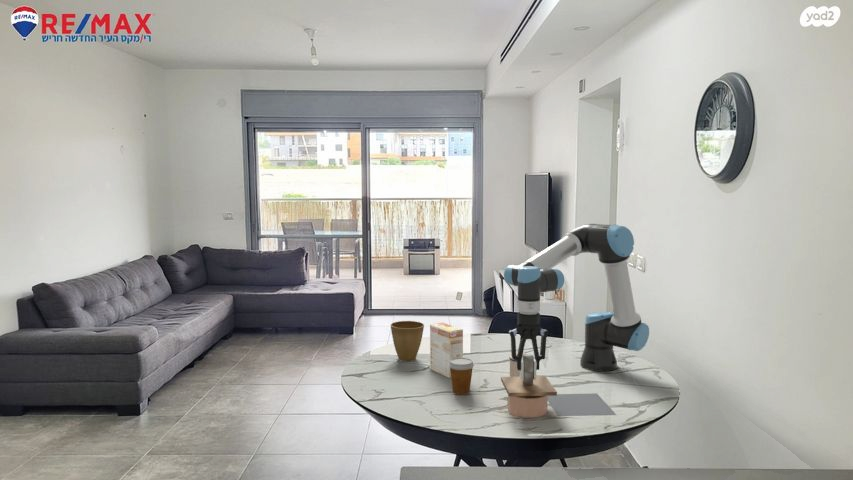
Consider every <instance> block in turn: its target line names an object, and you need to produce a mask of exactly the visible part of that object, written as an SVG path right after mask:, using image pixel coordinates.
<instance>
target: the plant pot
mask: <svg viewBox="0 0 853 480" xmlns="http://www.w3.org/2000/svg"><path fill="white" fill-rule="evenodd" d="M424 328H425V323H422V322H420V321H416V320H400V321H399V320H398V321H395V322H392V323H391V324H390V331H391V337H392V341H393V346H394V349H395V352H396V356H397V358H398V360H399V361H401V362H404V363H405V362H414V361H416V358H417V356H418V354H419V350H420V347H421V344H422V339H423V334H424V330H425V329H424Z"/></svg>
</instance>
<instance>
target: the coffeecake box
mask: <svg viewBox="0 0 853 480" xmlns="http://www.w3.org/2000/svg"><path fill="white" fill-rule="evenodd" d="M429 325H430V326H429V347H430V348H429V359H430V360H429V362H430V363H429V366H430V367H429V370H432V371H433V372H436V373H437V374H440V375H441V376H444V377H445V378H447V379H451V372H450V367H449V363H450V360H451V359H453V358H464V329H462V328H461V327H460V328H459V327H457V326H454V325H451V324H448V323H445V322H438V323H431V324H429Z"/></svg>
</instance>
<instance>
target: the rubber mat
mask: <svg viewBox="0 0 853 480" xmlns="http://www.w3.org/2000/svg"><path fill="white" fill-rule="evenodd" d="M548 403H549V405H550V407H551V408H552V410H553V412H554V413H555V414H556V416H557V417H572V416H573V417H577V416H578V417H582V416H585V417H586V416H617V413H616V412H615V411H614V410H613V409H612V408H611V407H610V406H609V405H608V404H607V403H606V401H605V400H603V398H602V397H601V396H600V395H599V394H598V392H597V393H596V392H595V393H593V392H592V393H557V396H548Z"/></svg>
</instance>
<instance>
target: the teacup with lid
mask: <svg viewBox="0 0 853 480" xmlns="http://www.w3.org/2000/svg"><path fill="white" fill-rule="evenodd" d="M517 354H518V351H516V356H517ZM525 354H527V353H526V352H524V351H523V355H525ZM523 355H522V360H523ZM508 360H509V377H520V370H518V369H517V360H514V359H513V358H512V355H511V354H510V355H509V359H508Z"/></svg>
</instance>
